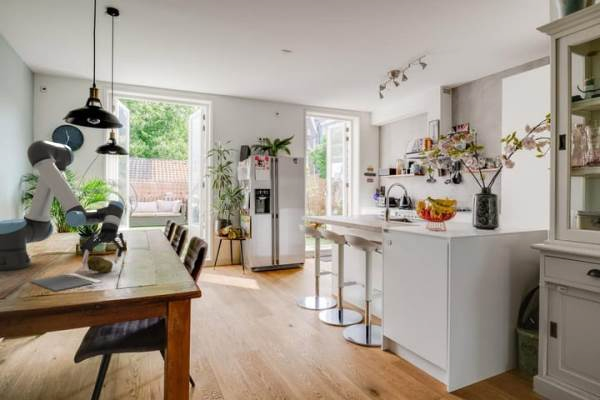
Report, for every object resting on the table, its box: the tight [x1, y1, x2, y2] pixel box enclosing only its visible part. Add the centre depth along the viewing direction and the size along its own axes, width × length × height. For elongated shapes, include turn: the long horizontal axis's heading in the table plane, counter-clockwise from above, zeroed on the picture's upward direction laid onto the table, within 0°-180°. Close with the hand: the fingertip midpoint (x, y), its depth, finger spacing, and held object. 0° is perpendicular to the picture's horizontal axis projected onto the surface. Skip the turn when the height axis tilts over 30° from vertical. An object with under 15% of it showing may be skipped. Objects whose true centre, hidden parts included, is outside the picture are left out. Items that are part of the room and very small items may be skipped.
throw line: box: [68, 272, 103, 284], centre depth 151 cm, size 24×2×1 cm, turn 57°
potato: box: [86, 256, 114, 273], centre depth 161 cm, size 8×13×8 cm, turn 152°
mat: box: [29, 274, 93, 292], centre depth 143 cm, size 24×13×1 cm, turn 57°
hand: (99, 262), depth 159 cm, fingers open, 13 cm apart
